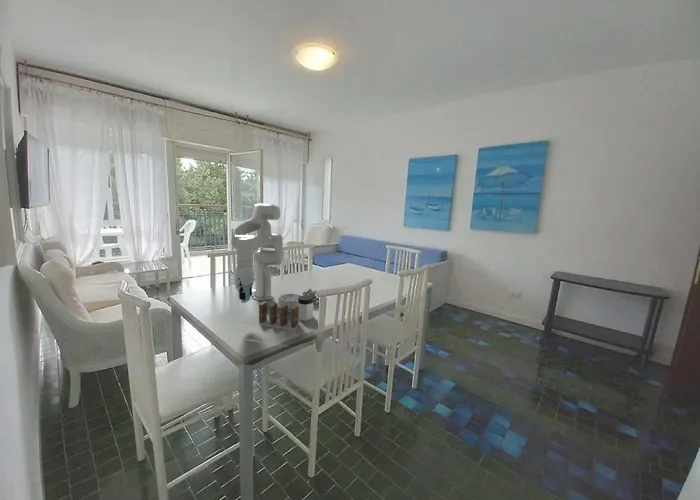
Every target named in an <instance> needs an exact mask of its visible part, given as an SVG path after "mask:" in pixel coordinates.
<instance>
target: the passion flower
mask: <svg viewBox="0 0 700 500" xmlns="http://www.w3.org/2000/svg"><path fill="white" fill-rule="evenodd" d="M317 292H318V290H312V288H309V289H308V290H306V291H303V292H302V294H301V295H309V296H312V297H313V304H315V305H318V303H319V298H317V297H316V296H315V294H316V293H317Z"/></svg>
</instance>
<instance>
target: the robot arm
mask: <svg viewBox="0 0 700 500" xmlns="http://www.w3.org/2000/svg"><path fill="white" fill-rule="evenodd" d="M280 216H281V210H280V207H279V206H277V205H275V204H270V203H254V204H253V205H252V206H251V207H250V210H249V213H248V216H247V219H246V221H244V222H242V223H241V224H240V225H238V226H236V228H235V230H234V231H233V234H232V236H231V242H230V245H231V247H232V248H233V249H234V250H236V267H235V268H236V269H235V277H234V285H235V290H237V292H238V299H239V300H240V301H241V300H245V299H246V295H245V286H247V285H249V284H250V297H253V299H254V300H256V301H270V300H272V299H273V298H274V294H273V293H272V270H271V269H270V267H269V266H281V264H282V263H283V253H284V252H283V246H284V245H283V244H284V241H283V236H282V235H281V234H280V233H272V225H271V223H270V222H269V221H278V220H279V219H280V218H281V217H280ZM254 232H256V235H249V234H251V233H254ZM260 248H261V249H260ZM270 249H274V250H270ZM254 251H255V252H254ZM254 264H255V269H254ZM254 282H255V289H253V285H254ZM241 285H242V286H241ZM241 287H243V289H242V288H241Z"/></svg>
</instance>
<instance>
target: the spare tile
mask: <svg viewBox="0 0 700 500" xmlns="http://www.w3.org/2000/svg"><path fill="white" fill-rule="evenodd" d="M241 286H242V285H241ZM241 288H242V289H243V287H241ZM245 295H246V299H245V300H240V301H241V303H242V304H245V303H247V302H249V301H251V296H250V284H249V285H247V286H245Z"/></svg>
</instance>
